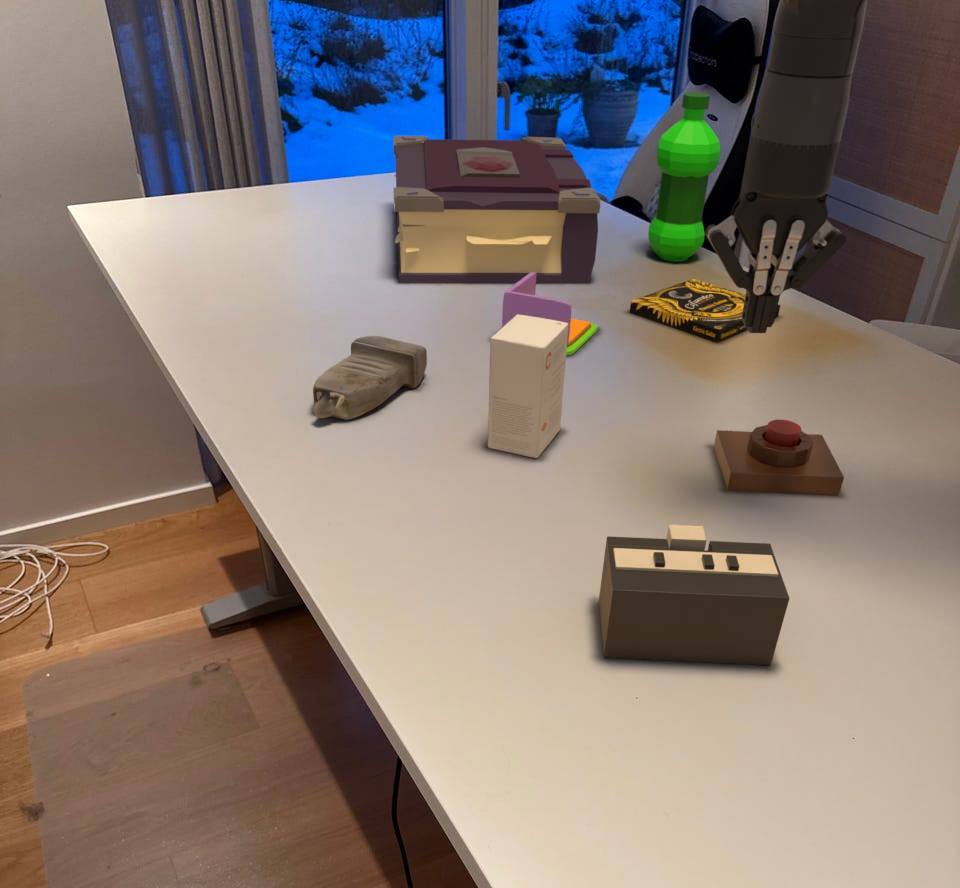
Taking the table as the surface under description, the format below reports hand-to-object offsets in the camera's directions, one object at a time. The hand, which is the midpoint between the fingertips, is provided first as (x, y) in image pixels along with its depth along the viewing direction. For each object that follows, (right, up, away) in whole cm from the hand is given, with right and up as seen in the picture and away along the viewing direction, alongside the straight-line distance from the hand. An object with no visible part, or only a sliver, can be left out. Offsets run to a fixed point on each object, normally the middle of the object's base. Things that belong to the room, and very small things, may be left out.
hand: (755, 330), depth 93 cm
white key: (-9, -23, -9) cm, 26 cm away
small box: (-22, -7, +19) cm, 29 cm away
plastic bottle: (+7, +37, +75) cm, 84 cm away
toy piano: (-9, -29, -9) cm, 32 cm away
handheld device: (-41, 0, +27) cm, 49 cm away
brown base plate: (+6, -11, +14) cm, 19 cm away
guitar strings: (+7, +19, +52) cm, 56 cm away
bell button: (+6, -8, +12) cm, 16 cm away
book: (-25, +41, +78) cm, 92 cm away
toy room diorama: (-17, +14, +44) cm, 49 cm away
